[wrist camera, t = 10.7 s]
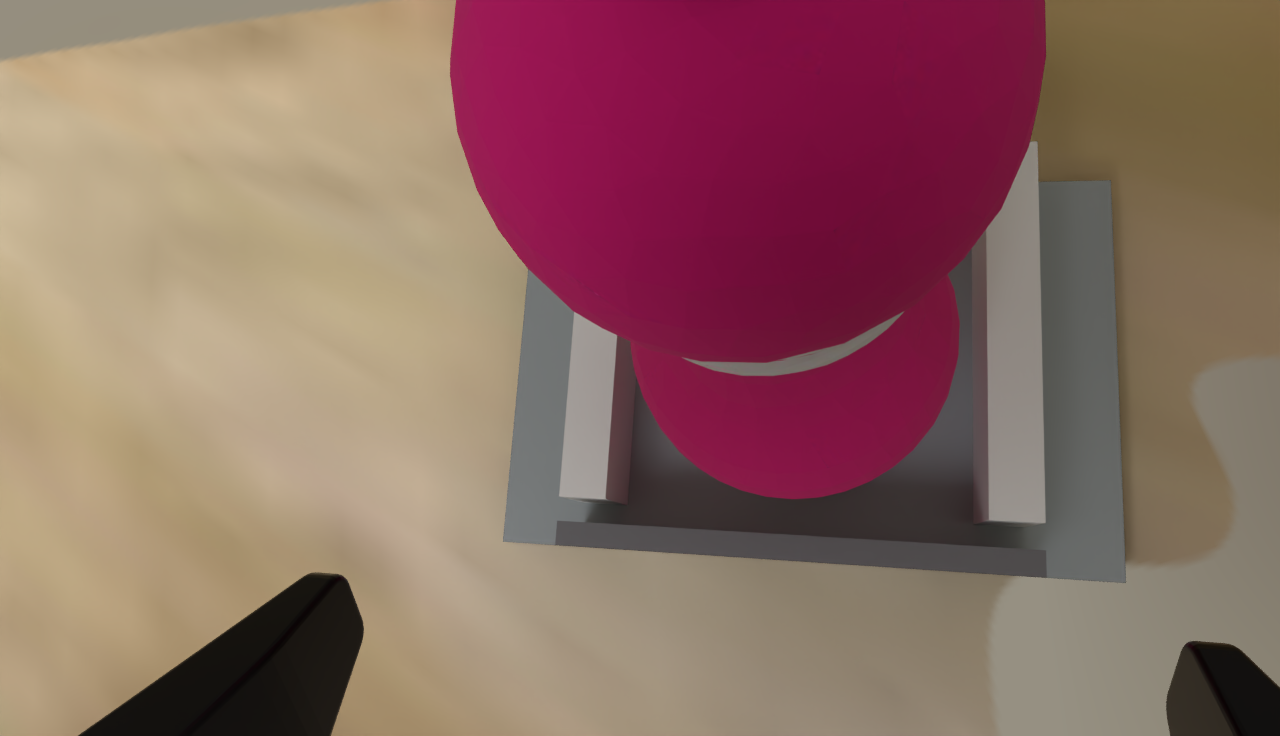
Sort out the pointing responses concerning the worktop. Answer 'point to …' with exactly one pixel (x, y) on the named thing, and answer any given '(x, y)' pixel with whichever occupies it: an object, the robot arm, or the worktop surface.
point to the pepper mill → (757, 202)
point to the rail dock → (915, 487)
